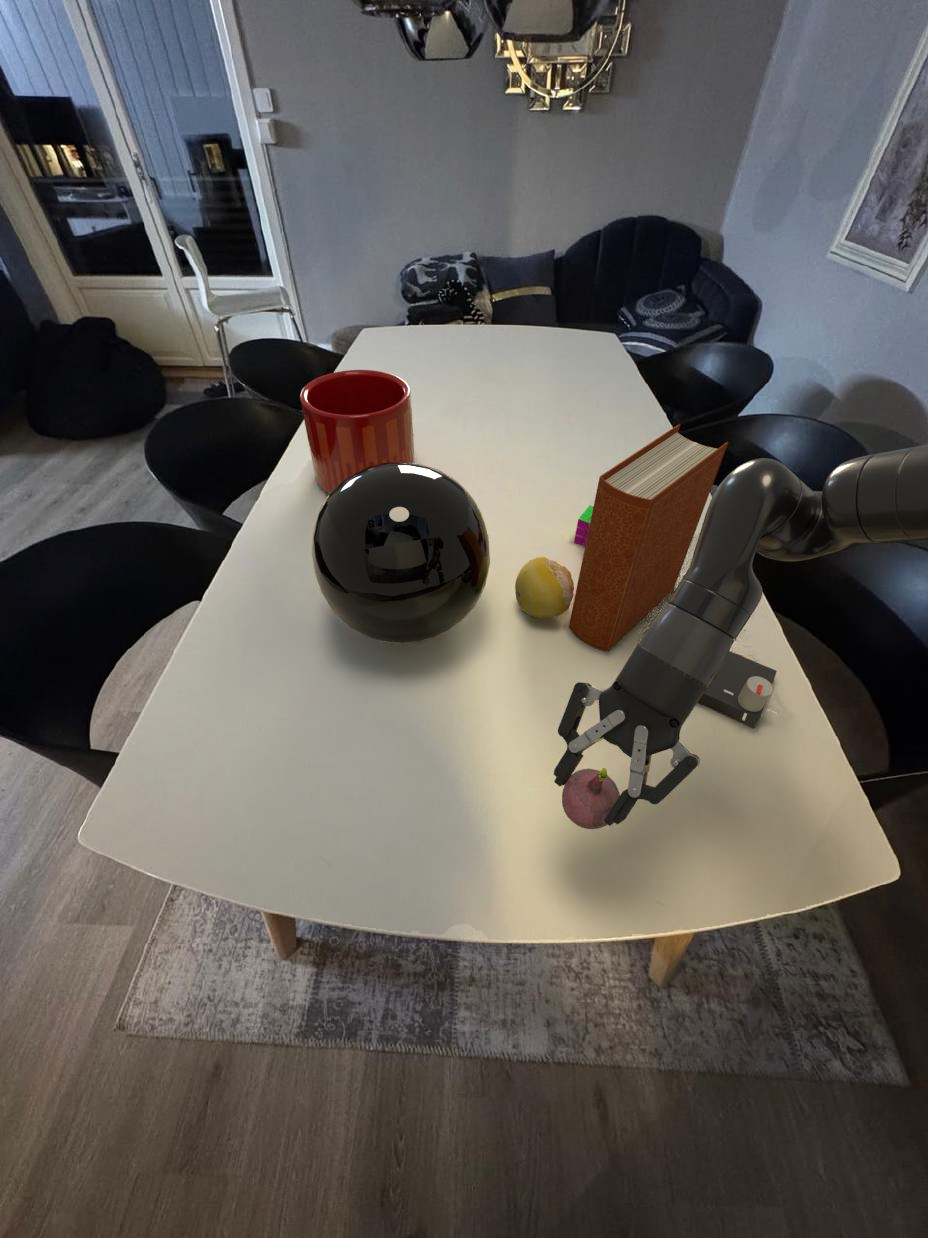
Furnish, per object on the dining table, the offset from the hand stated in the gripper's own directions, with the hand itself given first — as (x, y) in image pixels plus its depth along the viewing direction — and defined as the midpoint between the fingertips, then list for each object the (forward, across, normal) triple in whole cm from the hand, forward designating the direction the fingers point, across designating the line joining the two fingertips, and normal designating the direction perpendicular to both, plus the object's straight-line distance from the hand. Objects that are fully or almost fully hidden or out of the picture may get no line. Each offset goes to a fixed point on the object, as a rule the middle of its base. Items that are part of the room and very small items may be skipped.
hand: (583, 802), depth 57 cm
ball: (+1, -46, +24) cm, 53 cm away
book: (-19, -20, +44) cm, 52 cm away
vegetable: (+3, 0, +6) cm, 6 cm away
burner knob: (-16, +6, +38) cm, 42 cm away
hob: (-16, +1, +41) cm, 44 cm away
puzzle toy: (-28, -36, +54) cm, 71 cm away
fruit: (-12, -30, +37) cm, 50 cm away
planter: (-16, -87, +42) cm, 98 cm away
